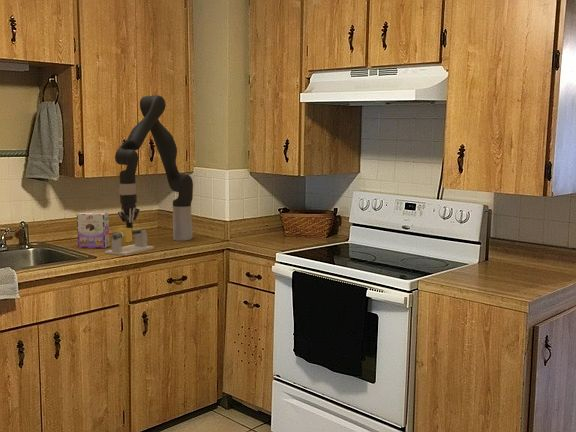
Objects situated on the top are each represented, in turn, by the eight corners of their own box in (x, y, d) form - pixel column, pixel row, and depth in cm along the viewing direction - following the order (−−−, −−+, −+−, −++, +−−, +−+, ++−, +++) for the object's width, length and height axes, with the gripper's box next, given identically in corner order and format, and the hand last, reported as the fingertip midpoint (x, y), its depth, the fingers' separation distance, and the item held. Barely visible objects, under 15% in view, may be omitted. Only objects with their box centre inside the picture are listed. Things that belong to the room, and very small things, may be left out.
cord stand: (133, 246, 332) (133, 226, 330) (153, 248, 326) (153, 228, 325) (105, 253, 314) (104, 232, 313) (125, 255, 308) (125, 234, 307)
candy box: (110, 246, 330) (109, 212, 328) (104, 248, 324) (103, 214, 322) (83, 245, 333) (82, 211, 331) (77, 247, 327) (76, 213, 325)
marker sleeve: (123, 240, 319) (122, 227, 318) (132, 241, 317) (131, 228, 316) (117, 241, 316) (117, 228, 315) (126, 242, 313) (126, 229, 313)
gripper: (131, 191, 324) (132, 227, 326) (111, 194, 312) (113, 232, 315) (143, 192, 320) (145, 228, 323) (124, 195, 309) (126, 233, 311)
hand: (129, 230), depth 319 cm, fingers closed
